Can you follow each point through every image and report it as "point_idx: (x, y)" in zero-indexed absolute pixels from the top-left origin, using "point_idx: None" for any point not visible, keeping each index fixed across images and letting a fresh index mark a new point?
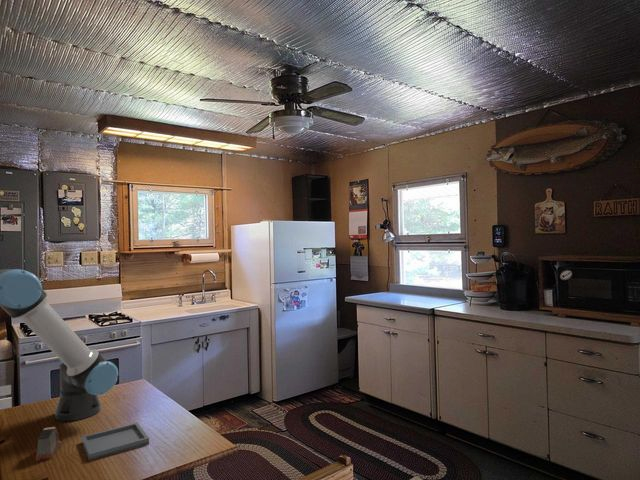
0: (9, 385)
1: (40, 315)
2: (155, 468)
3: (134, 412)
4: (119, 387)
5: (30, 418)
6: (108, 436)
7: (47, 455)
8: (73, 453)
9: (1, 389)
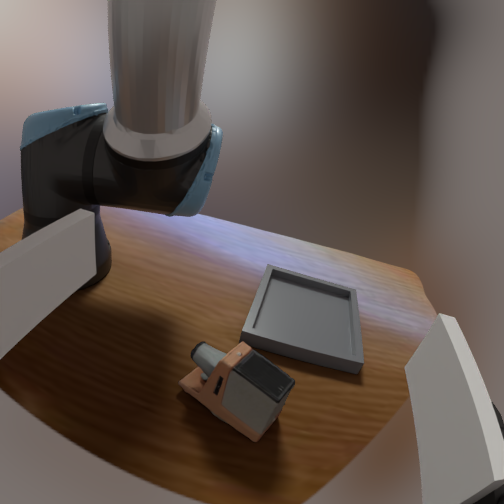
0: (84, 215)
1: None
2: None
3: (182, 242)
4: None
5: None
6: (272, 308)
7: (276, 417)
8: None
9: (52, 257)
